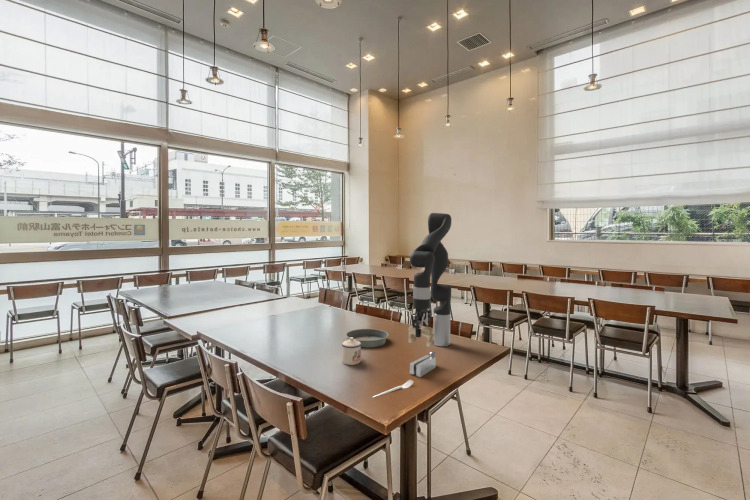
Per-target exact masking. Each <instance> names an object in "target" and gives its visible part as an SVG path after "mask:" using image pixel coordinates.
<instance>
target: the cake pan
mask: <svg viewBox="0 0 750 500" xmlns="http://www.w3.org/2000/svg"><path fill="white" fill-rule="evenodd" d="M389 334H390V333H388V332H387V331H385V330H383V329H378V328H377V329H376V328H358V329H353V330H349V331H347V332H346V333H345V335H344V336H345V337H346V338H347V339H346V340H349V339H350V337H353V338H354V339H355V340H356V341H359V342H360V343H361V348H376V347H380V346H383V345H385V344H386V343H387V338H388V337H389ZM359 337H368V338H366V339H359ZM357 338H358V339H357Z"/></svg>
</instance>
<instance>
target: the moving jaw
mask: <svg viewBox="0 0 750 500" xmlns="http://www.w3.org/2000/svg"><path fill="white" fill-rule="evenodd" d="M431 356H433V357H436V351H433V350H432V351H429V355H428V354H425V355H424V356H422V357H419V358H417V359H416V360H414V361H411V362H409V375H416V365H417V364H419V363H421V362H423V361H424V360H426V359H428V358H430V357H431Z"/></svg>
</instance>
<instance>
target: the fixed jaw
mask: <svg viewBox="0 0 750 500" xmlns="http://www.w3.org/2000/svg"><path fill="white" fill-rule="evenodd" d="M436 359H437V358H436V356H435V357H433V356H431V357H430V358H428V359H426V360H424V361H423V362H421V363H419V364H417V365H416V374H415V376H416V377H418V378H421V377H423V376H425V375H426V374H428V373H429V372H431V371H432V370H434V369H435V368H436Z"/></svg>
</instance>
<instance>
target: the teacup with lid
mask: <svg viewBox="0 0 750 500" xmlns="http://www.w3.org/2000/svg"><path fill="white" fill-rule="evenodd" d="M355 339H356V338H353V337H350V339H349V340H348V339H346V340H344V341H343V342H342V343H341V345H342V346H341V347H342V356H341V357H342V363H343V365H347V366H353V365H354V366H355V365H358V364H360V363H361V361H362V360H361V359H362V358H361V357H362V356H361V354H362V352H361V349H362V347H361V343H360V342H359V341H356V340H355Z"/></svg>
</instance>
